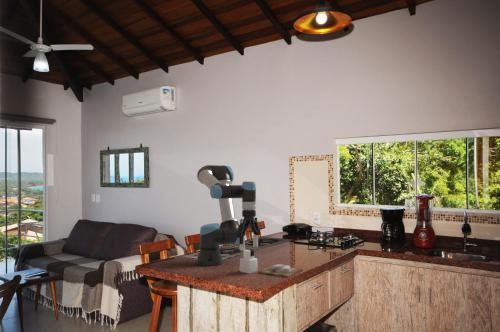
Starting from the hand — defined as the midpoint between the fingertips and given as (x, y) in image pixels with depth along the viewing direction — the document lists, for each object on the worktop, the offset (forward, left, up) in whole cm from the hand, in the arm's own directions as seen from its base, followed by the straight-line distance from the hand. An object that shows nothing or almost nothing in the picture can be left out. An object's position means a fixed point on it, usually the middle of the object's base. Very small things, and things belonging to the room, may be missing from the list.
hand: (249, 248), depth 201 cm
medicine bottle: (0, 0, -13) cm, 13 cm away
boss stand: (+15, +9, -13) cm, 21 cm away
